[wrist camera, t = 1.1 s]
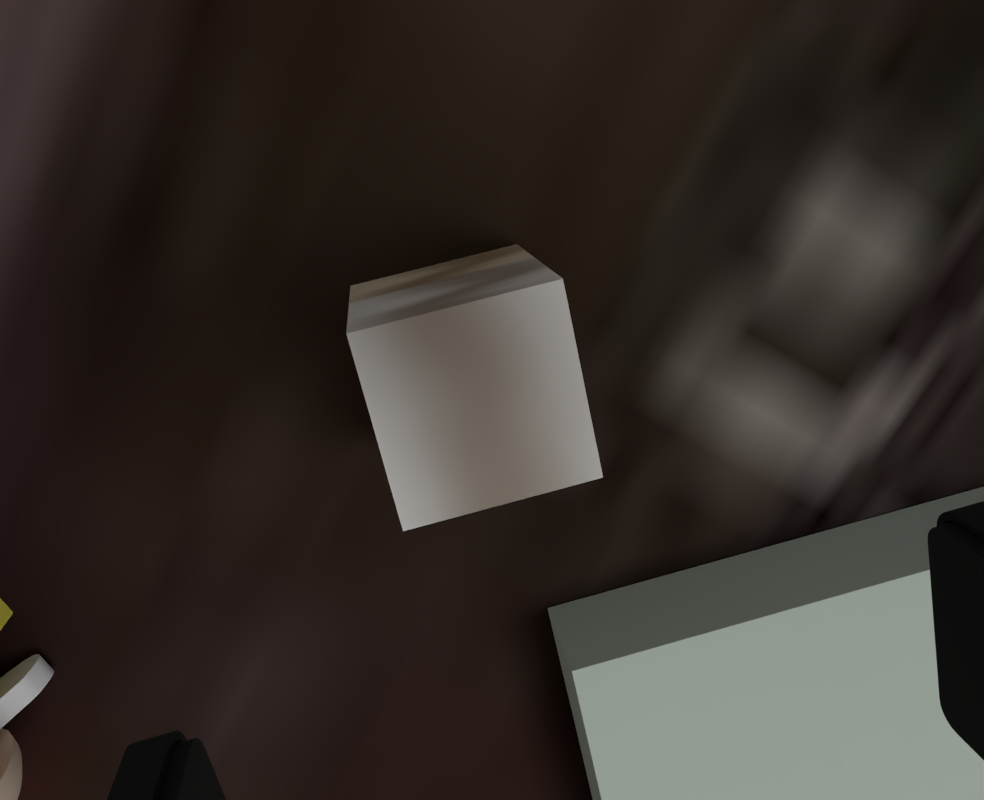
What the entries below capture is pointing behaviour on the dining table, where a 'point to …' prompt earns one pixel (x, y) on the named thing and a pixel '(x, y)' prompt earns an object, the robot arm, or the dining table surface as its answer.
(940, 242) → the dining table surface
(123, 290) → the dining table surface
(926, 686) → the dock
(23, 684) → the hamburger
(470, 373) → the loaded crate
